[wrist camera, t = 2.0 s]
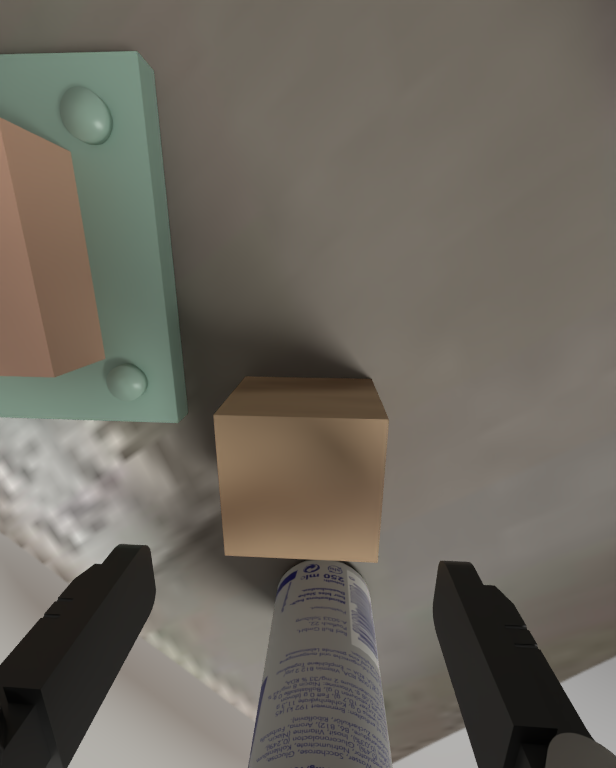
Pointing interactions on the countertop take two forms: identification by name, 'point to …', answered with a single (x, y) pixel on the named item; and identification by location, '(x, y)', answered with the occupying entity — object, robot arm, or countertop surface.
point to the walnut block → (302, 468)
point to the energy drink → (321, 675)
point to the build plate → (85, 243)
